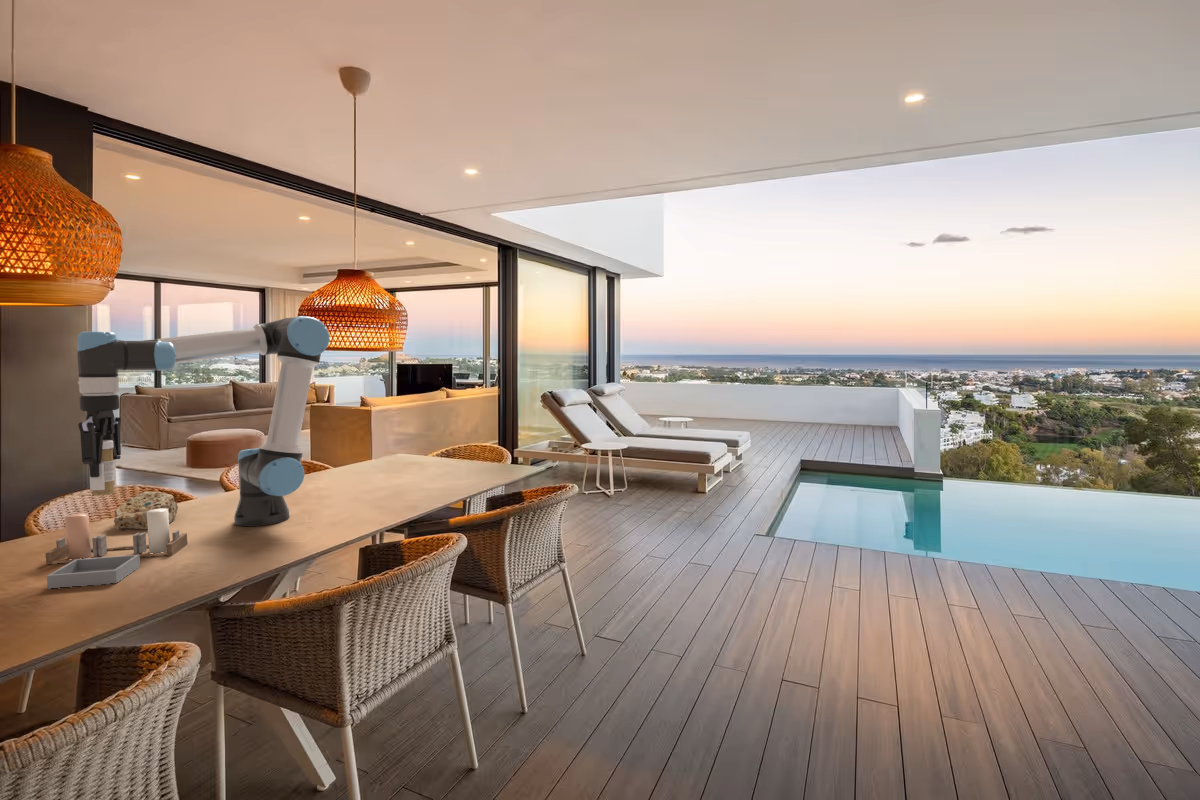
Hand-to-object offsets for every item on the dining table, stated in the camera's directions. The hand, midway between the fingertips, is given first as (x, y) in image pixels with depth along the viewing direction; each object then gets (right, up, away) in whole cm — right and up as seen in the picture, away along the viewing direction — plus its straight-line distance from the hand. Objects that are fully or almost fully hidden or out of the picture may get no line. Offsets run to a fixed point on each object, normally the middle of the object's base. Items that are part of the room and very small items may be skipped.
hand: (103, 487), depth 150 cm
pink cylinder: (-11, -19, +6) cm, 23 cm away
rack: (-2, -19, +8) cm, 20 cm away
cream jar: (+6, -18, +10) cm, 22 cm away
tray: (+5, -20, -8) cm, 22 cm away
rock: (-17, -17, +38) cm, 45 cm away
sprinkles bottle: (0, -2, 0) cm, 2 cm away
